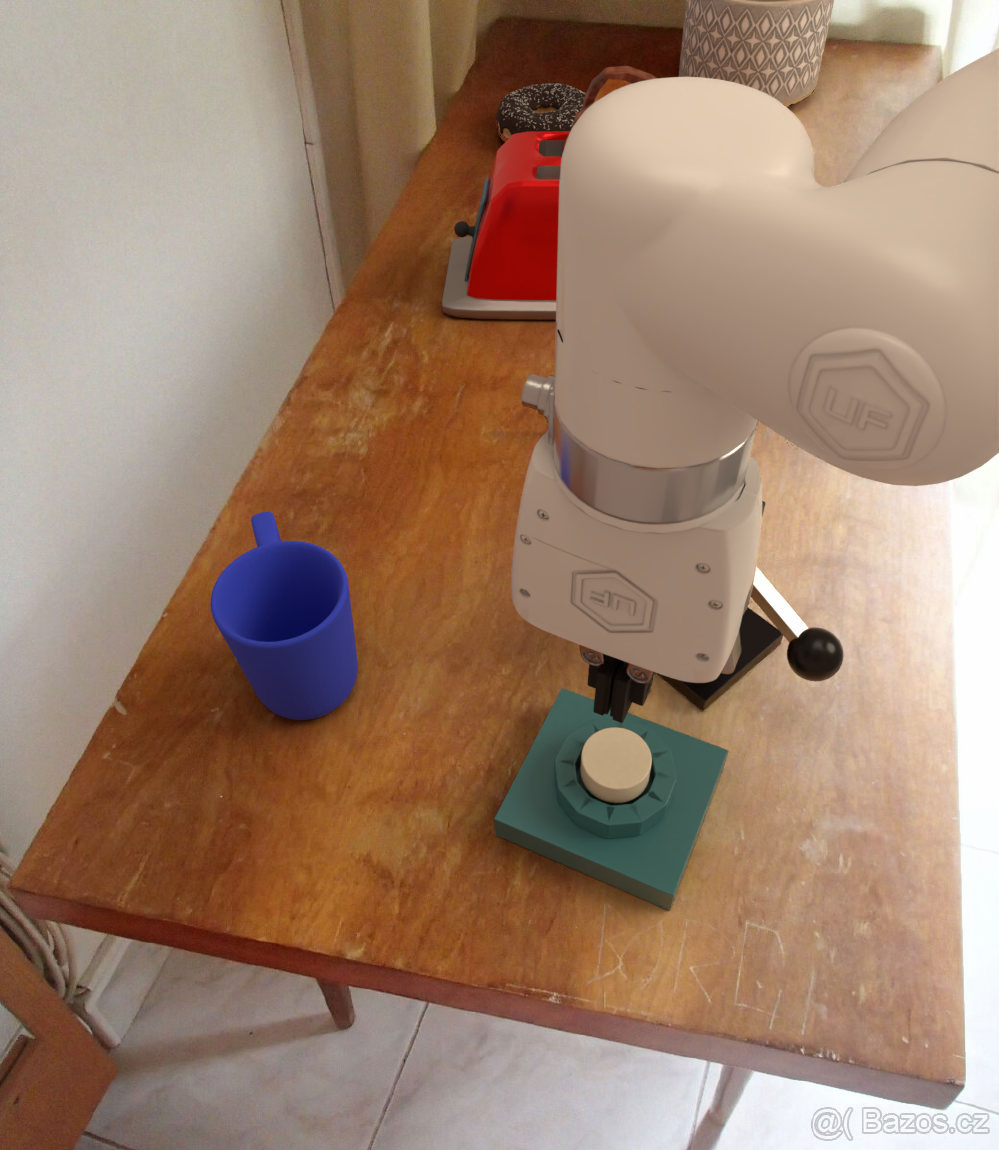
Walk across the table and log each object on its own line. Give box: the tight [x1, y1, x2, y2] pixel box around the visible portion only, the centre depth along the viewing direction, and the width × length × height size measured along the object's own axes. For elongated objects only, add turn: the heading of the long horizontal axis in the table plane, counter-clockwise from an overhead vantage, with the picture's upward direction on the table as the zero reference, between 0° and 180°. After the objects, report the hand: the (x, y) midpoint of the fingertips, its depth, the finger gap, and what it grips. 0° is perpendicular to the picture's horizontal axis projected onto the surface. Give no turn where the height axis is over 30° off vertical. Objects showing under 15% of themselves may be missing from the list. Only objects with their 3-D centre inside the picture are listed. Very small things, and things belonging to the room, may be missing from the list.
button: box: [581, 727, 652, 803], centre depth 57 cm, size 4×4×2 cm
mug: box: [210, 511, 359, 721], centre depth 64 cm, size 8×12×10 cm
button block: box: [493, 687, 729, 911], centre depth 59 cm, size 11×10×4 cm
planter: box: [678, 0, 835, 108], centre depth 115 cm, size 16×16×13 cm
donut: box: [495, 82, 586, 143], centre depth 113 cm, size 11×12×4 cm
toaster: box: [441, 65, 657, 321], centre depth 88 cm, size 32×13×19 cm, turn 86°
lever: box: [750, 566, 845, 683], centre depth 59 cm, size 13×3×3 cm, turn 41°
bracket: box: [656, 500, 784, 712], centre depth 63 cm, size 10×8×13 cm
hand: (618, 696), depth 52 cm, fingers closed
